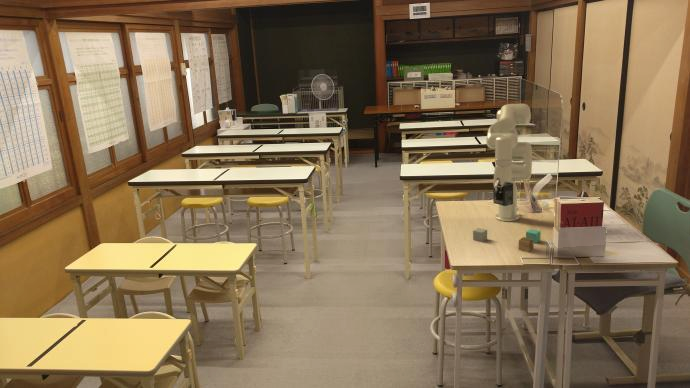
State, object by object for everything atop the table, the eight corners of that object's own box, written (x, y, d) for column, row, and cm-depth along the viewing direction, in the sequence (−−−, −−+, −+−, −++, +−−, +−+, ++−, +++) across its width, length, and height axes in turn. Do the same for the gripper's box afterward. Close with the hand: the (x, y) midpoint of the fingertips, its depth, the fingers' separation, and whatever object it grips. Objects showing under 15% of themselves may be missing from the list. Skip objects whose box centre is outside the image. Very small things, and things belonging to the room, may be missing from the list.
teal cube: (530, 238, 263) (530, 229, 262) (540, 240, 260) (540, 230, 258) (525, 241, 259) (526, 231, 258) (535, 243, 256) (536, 233, 255)
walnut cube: (523, 246, 253) (523, 237, 252) (533, 249, 250) (533, 239, 249) (518, 250, 250) (518, 240, 249) (528, 252, 246) (528, 242, 245)
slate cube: (478, 237, 269) (478, 227, 268) (487, 239, 266) (487, 229, 265) (473, 240, 266) (473, 230, 265) (482, 242, 263) (482, 232, 261)
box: (513, 204, 254) (513, 183, 251) (504, 206, 252) (504, 185, 249) (501, 200, 261) (502, 179, 258) (492, 202, 259) (493, 181, 256)
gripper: (504, 157, 259) (504, 192, 264) (487, 165, 247) (487, 201, 252) (519, 159, 254) (518, 194, 259) (502, 167, 242) (501, 204, 247)
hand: (503, 197), depth 256 cm, fingers closed on box, 7 cm apart
